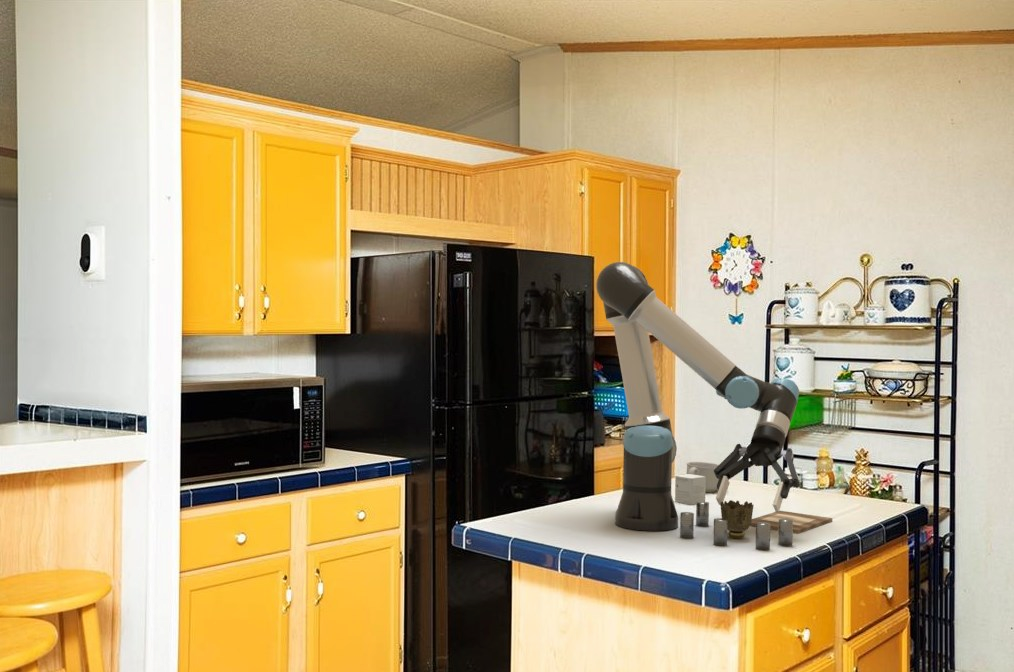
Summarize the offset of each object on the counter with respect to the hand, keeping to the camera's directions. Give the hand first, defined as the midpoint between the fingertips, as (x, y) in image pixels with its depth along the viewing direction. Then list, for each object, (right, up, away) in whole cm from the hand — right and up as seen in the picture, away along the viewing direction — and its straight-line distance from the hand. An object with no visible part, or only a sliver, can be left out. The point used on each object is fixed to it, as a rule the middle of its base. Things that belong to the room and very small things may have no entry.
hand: (746, 505), depth 223 cm
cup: (-3, -8, -1) cm, 8 cm away
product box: (-5, -7, +44) cm, 45 cm away
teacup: (+2, -7, +62) cm, 63 cm away
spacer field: (-5, -7, 0) cm, 9 cm away
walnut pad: (+15, -7, +17) cm, 23 cm away
